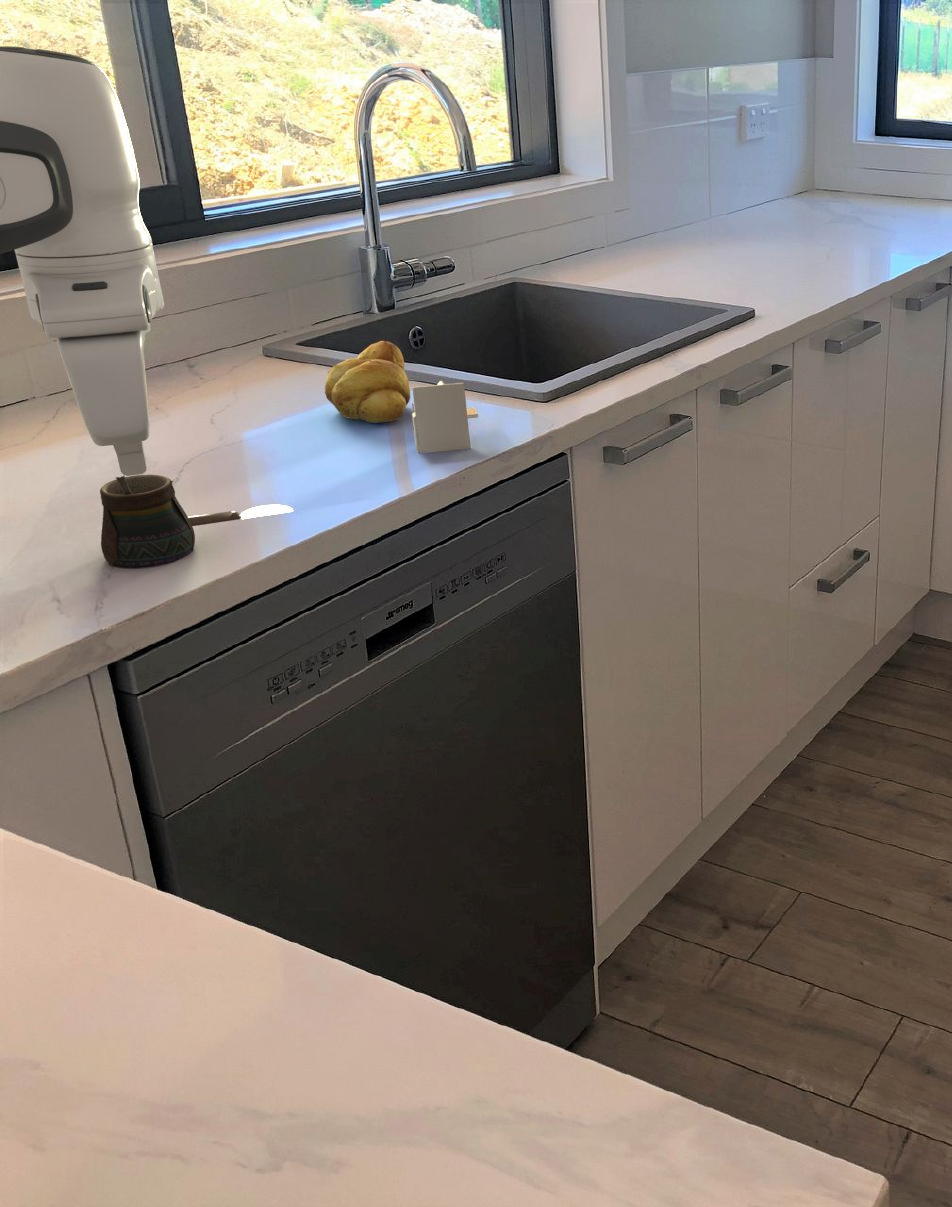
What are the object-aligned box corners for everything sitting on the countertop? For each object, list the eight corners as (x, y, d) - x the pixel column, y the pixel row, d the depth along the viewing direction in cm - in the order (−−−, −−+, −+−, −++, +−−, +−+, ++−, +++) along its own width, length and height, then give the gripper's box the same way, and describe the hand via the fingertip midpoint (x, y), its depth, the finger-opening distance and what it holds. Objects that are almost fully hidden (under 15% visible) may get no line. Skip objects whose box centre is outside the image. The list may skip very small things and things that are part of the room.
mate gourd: (200, 551, 118) (179, 444, 114) (201, 582, 111) (179, 469, 107) (111, 563, 115) (86, 453, 111) (106, 595, 109) (80, 480, 105)
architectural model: (414, 445, 148) (406, 380, 145) (476, 438, 150) (470, 374, 147) (418, 453, 145) (410, 387, 142) (481, 447, 147) (475, 382, 144)
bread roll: (421, 425, 155) (413, 358, 152) (335, 433, 151) (325, 365, 148) (405, 398, 166) (398, 335, 162) (325, 406, 162) (315, 341, 159)
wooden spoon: (131, 550, 118) (127, 533, 117) (130, 532, 122) (127, 516, 121) (297, 527, 124) (295, 511, 123) (292, 511, 127) (289, 496, 127)
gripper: (50, 269, 103) (90, 439, 108) (39, 319, 86) (87, 517, 92) (139, 263, 105) (173, 429, 111) (144, 310, 88) (185, 503, 94)
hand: (134, 469), depth 101 cm, fingers closed
